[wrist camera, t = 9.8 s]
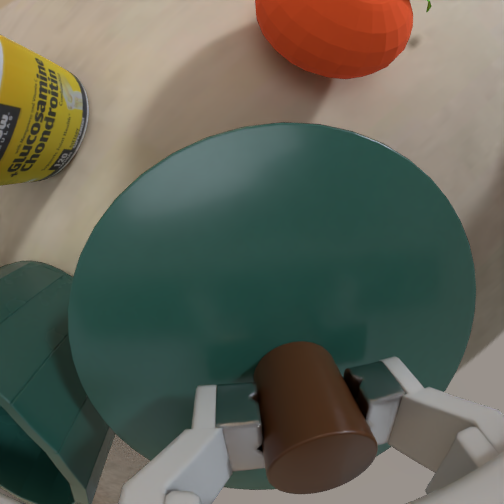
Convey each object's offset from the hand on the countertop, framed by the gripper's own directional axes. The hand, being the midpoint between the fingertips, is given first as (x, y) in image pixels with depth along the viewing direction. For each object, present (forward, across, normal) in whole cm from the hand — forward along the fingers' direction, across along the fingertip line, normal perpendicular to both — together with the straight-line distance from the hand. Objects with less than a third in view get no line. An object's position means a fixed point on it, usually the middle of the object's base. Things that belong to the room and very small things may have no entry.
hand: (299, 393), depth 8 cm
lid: (+2, 0, 0) cm, 2 cm away
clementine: (+9, -4, -13) cm, 17 cm away
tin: (+9, +15, +4) cm, 18 cm away
